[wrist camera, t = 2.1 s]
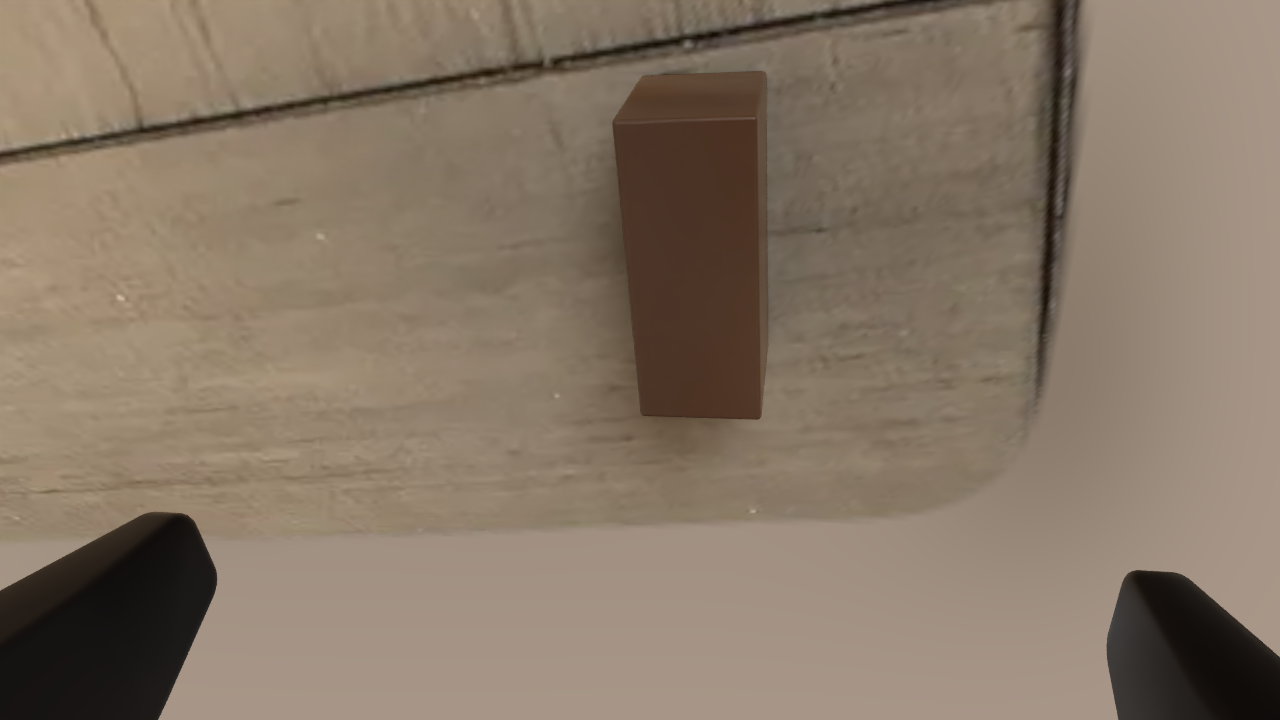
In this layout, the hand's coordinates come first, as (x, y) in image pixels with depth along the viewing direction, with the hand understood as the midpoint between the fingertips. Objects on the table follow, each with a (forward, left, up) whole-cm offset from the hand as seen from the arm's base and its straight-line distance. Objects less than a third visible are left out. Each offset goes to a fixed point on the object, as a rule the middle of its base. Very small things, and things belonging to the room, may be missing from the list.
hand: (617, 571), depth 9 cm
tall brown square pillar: (0, 0, -8) cm, 8 cm away
